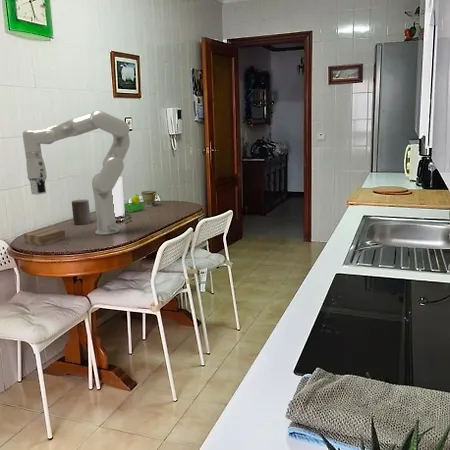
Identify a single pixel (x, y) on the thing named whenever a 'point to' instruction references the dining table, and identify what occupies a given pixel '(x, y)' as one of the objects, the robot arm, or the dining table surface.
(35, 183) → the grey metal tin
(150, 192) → the ceramic cup
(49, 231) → the walnut block
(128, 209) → the fruit basket
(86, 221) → the pillar candle
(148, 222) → the dining table surface
